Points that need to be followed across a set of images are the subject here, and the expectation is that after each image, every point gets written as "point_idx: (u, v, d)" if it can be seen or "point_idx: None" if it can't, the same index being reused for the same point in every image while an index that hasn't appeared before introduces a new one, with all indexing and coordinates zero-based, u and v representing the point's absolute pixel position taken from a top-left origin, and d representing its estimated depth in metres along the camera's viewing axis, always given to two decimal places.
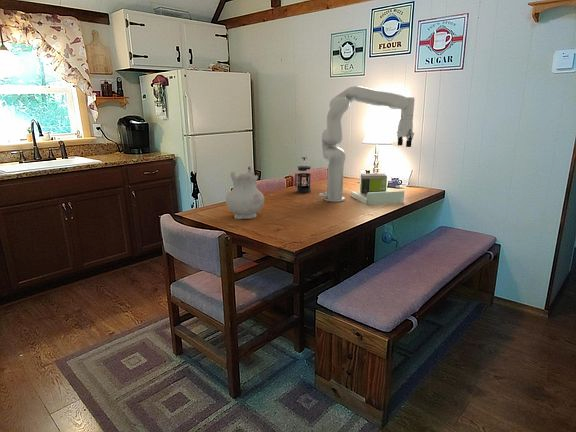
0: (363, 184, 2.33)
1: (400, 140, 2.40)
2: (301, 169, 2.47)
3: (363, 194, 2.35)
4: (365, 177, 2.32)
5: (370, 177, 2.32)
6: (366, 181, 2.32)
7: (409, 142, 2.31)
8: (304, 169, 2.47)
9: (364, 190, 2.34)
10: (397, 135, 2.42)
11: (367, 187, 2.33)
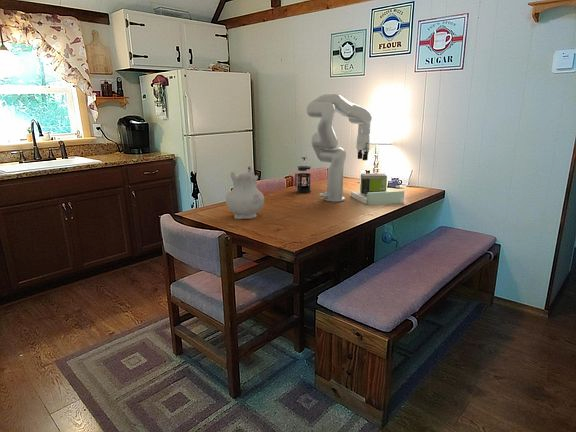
0: (363, 184, 2.33)
1: (360, 154, 2.52)
2: (301, 169, 2.47)
3: (363, 194, 2.35)
4: (365, 177, 2.32)
5: (370, 177, 2.32)
6: (366, 181, 2.32)
7: (365, 156, 2.44)
8: (304, 169, 2.47)
9: (364, 190, 2.34)
10: (357, 149, 2.53)
11: (367, 187, 2.33)
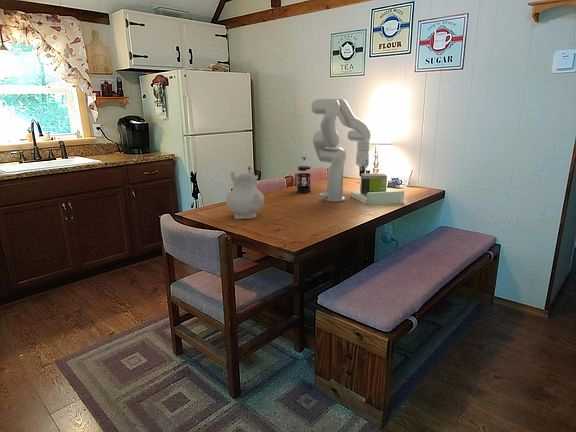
0: (363, 184, 2.33)
1: None
2: (301, 169, 2.47)
3: (363, 194, 2.35)
4: (365, 177, 2.32)
5: (370, 177, 2.32)
6: (366, 181, 2.32)
7: (362, 172, 2.51)
8: (304, 169, 2.47)
9: (364, 190, 2.34)
10: (359, 166, 2.54)
11: (367, 187, 2.33)
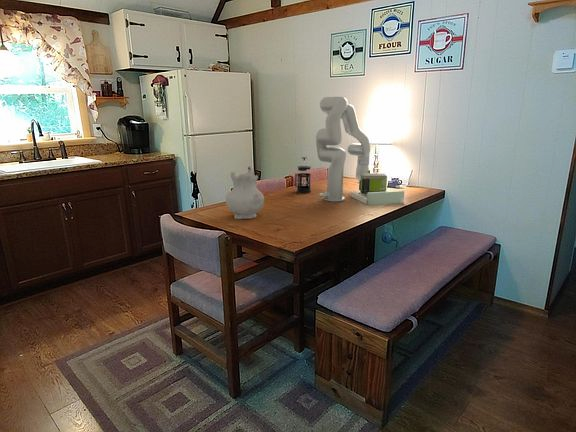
0: (363, 184, 2.33)
1: None
2: (301, 169, 2.47)
3: (363, 194, 2.35)
4: (365, 177, 2.32)
5: (370, 177, 2.32)
6: (366, 181, 2.32)
7: None
8: (304, 169, 2.47)
9: (364, 190, 2.34)
10: None
11: (367, 187, 2.33)
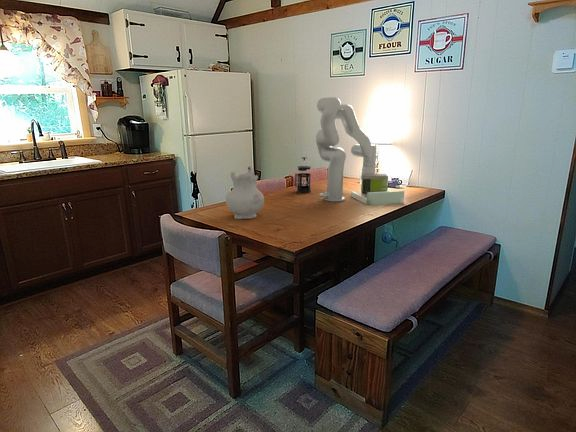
0: (364, 184, 2.32)
1: None
2: (301, 169, 2.47)
3: (364, 194, 2.33)
4: (366, 177, 2.30)
5: (371, 177, 2.30)
6: (367, 181, 2.31)
7: None
8: (304, 169, 2.47)
9: (365, 190, 2.33)
10: None
11: (368, 187, 2.32)
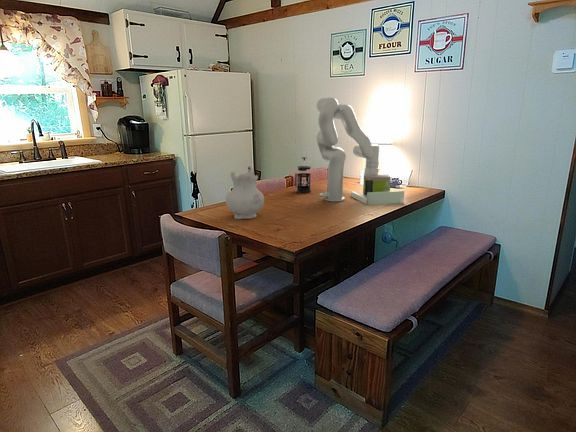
0: (366, 186, 2.28)
1: None
2: (301, 169, 2.47)
3: (366, 196, 2.30)
4: (368, 178, 2.27)
5: (373, 178, 2.27)
6: (369, 182, 2.27)
7: None
8: (304, 169, 2.47)
9: (367, 192, 2.29)
10: None
11: (370, 189, 2.28)
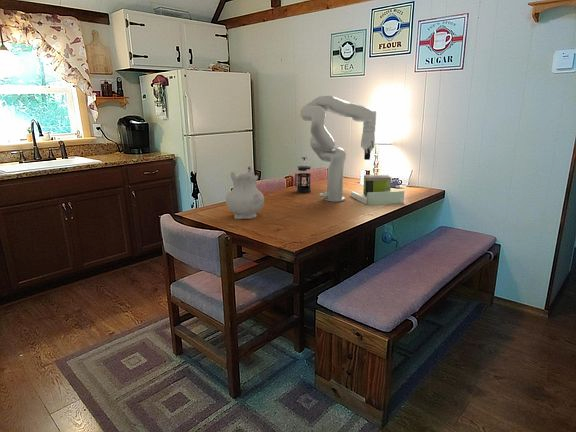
0: (367, 186, 2.28)
1: None
2: (301, 169, 2.47)
3: None
4: (369, 179, 2.26)
5: (374, 179, 2.26)
6: (370, 183, 2.27)
7: (368, 155, 2.40)
8: (304, 169, 2.47)
9: (368, 192, 2.28)
10: (364, 149, 2.43)
11: (371, 189, 2.28)
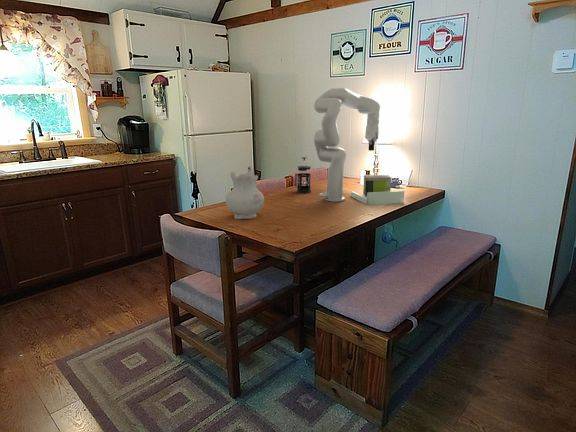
0: (367, 186, 2.28)
1: None
2: (301, 169, 2.47)
3: None
4: (369, 179, 2.26)
5: (374, 179, 2.26)
6: (370, 183, 2.27)
7: (372, 146, 2.49)
8: (304, 169, 2.47)
9: (368, 192, 2.28)
10: (368, 140, 2.52)
11: (371, 189, 2.28)
